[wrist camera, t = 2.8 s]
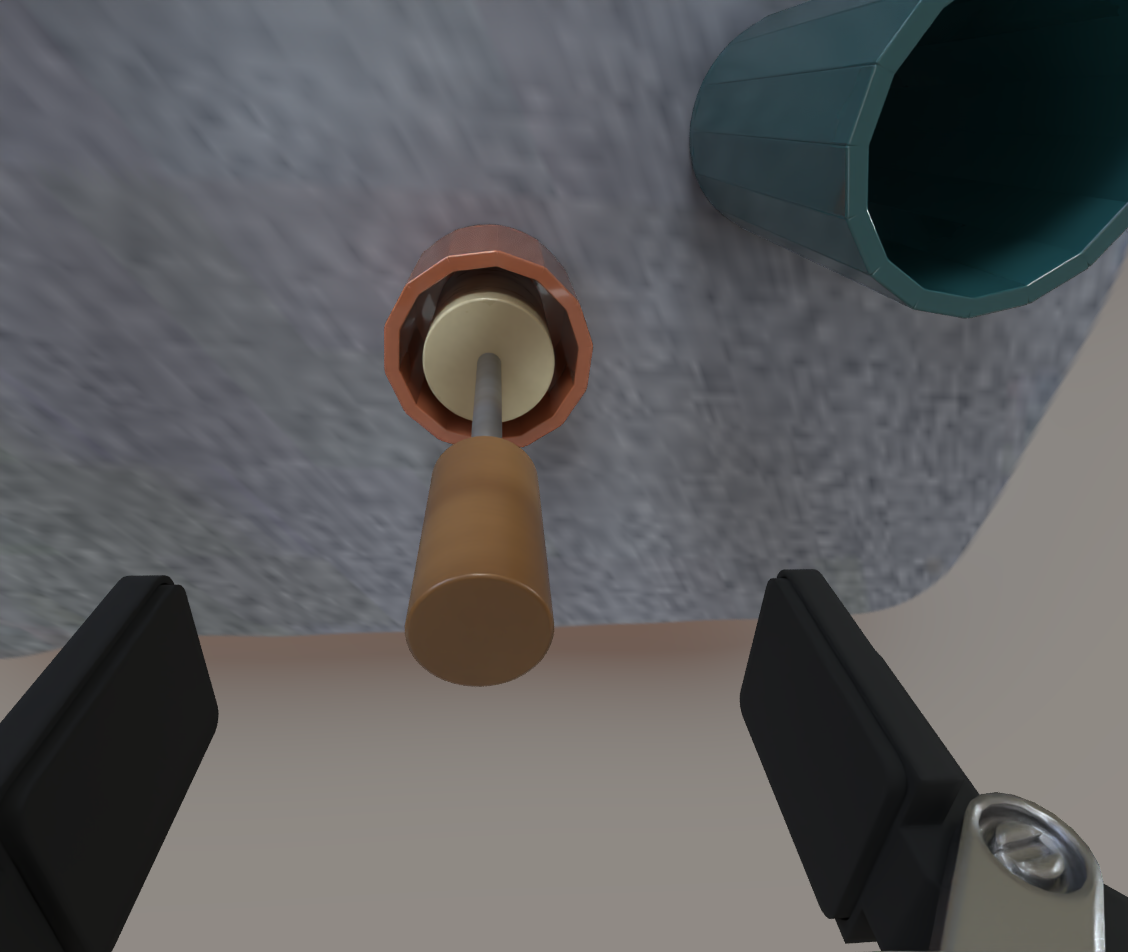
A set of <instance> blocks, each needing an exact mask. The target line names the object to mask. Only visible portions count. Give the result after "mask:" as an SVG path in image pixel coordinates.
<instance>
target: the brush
mask: <svg viewBox="0 0 1128 952" xmlns="http://www.w3.org/2000/svg"><path fill="white" fill-rule="evenodd" d="M554 365H555V360H554V351H553V346H552V341H551V337H550V333H549V329H548V324H547V320H546V316H545V312H544V307H543V303H542V300H541V297H540V295H539V292H538V290H537V289H536V287H535V285H534V284H533V283H532V282H531V280H530V279H529V278H528V277H525V276H522V275H519V274H516V273H513V272H511V271H508V270H505V269H502V268H499V267H488V268H480V269H471V270H463V271H457V272H456V273H455V274H454V275H453V276H451V278H450V279H449V280H448V281H447V282H446V284H445V285H444V287H443V289H442V291H441V293H440V296H439V299H438V302H437V305H436V309H435V312H434V315H433V318H432V321H431V324H430V327H429V331H428V334H427V337H426V340H425V344H424V348H423V370H424V374H425V378H426V380H427V383H428V385H429V387H430V389H431V390H432V392H433V394H434V395H435V396H436V398H437V399H438V400H439V401H440V402H441V403H442V404H443V405H444V406H445V407H446V408H447V409H449V410H450V411H452V412H453V413H455V414H456V415H458V416H460V417H463V418H465V419H468V420H471V421H472V433H471V437H470V438H467V439H464V440H461V441H459V442H457V443H455V444H454V445H452V446H451V447H449V448H448V449H447V450H446V451H445V452H444V453H443V454H442V455H441V456H440V458H439V459H438V460H437V462H436V464H435V466H434V469H433V473H432V478H431V484H430V489H429V495H428V500H427V506H426V511H425V517H424V523H423V528H422V534H421V539H420V545H419V550H418V556H417V561H416V567H415V572H414V578H413V584H412V589H411V595H410V600H409V606H408V611H407V617H406V622H405V637H406V641H407V644H408V647H409V650H410V651H411V653H412V655H413V657H414V658H415V659H416V661H417V662H418V663H419V664H420V665H421V666H422V667H423V668H424V669H426V670H427V671H428V672H429V673H431V674H433V675H435V676H436V677H438V678H440V679H443V680H445V681H448V682H451V683H454V684H459V685H464V686H479V687H481V686H492V685H498V684H502V683H506V682H509V681H511V680H514V679H516V678H518V677H520V676H522V675H524V674H526V673H527V672H528V671H530V670H531V669H532V668H534V667H535V666H536V665H537V664H538V663H539V662H540V661H541V660H542V659H543V657H544V656H545V654H546V653H547V651H548V649H549V647H550V645H551V642H552V639H553V634H554V619H553V610H552V601H551V592H550V583H549V574H548V565H547V556H546V547H545V537H544V528H543V519H542V510H541V501H540V492H539V483H538V476H537V471H536V468H535V466H534V464H533V462H532V460H531V459H530V457H529V456H528V455H527V454H526V453H525V452H524V451H523V450H522V449H521V448H520V447H518V446H517V445H515V444H514V443H512V442H510V441H507V440H505V439H502V422H506V421H509V420H512V419H515V418H517V417H520V416H522V415H523V414H525V413H527V412H528V411H530V410H531V409H532V408H533V407H535V406H536V405H537V404H538V403H539V402H540V400H541V399H542V398H543V396H544V395H545V393H546V392H547V390H548V388H549V386H550V383H551V381H552V377H553V373H554Z"/></svg>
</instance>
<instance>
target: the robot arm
mask: <svg viewBox="0 0 1128 952" xmlns="http://www.w3.org/2000/svg"><path fill="white" fill-rule="evenodd" d="M740 707H741V712H742V715H743V718H744V721H745V723H746V726H747V728H748V731H749V733H750V736H751V737H752V740H753V743H754V745H755V748H756V750H757V753H758V755H759V758H760V760H761V763H762V765H763V767H764V770H765V772H766V775H767V777H768V780H769V783H770V785H771V787H772V790H773V792H774V795H775V797H776V800H777V802H778V805H779V807H780V810H781V812H782V814H783V817H784V820H785V822H786V824H787V827H788V829H789V832H790V834H791V837H792V839H793V842H794V844H795V846H796V849H797V852H798V854H799V856H800V859H801V861H802V864H803V866H804V869H805V871H806V874H807V876H808V879H809V881H810V884H811V886H812V889H813V891H814V894H815V896H816V899H817V901H818V904H819V906H820V908H821V910H822V912H823V913H824V915H825V916H826V917H827V918H829V919H834V918H835V920H836V922H837V925H838V927H839V929H840V932H841V934H842V937H843V939H844V941H845V943H861V942H877V943H878V945H879V947H880V949H881V951H874V952H1128V897H1126V896H1125V895H1123V894H1121V893H1119V892H1118V891H1116V890H1114V889H1112V888H1110V887H1108V886H1107V885H1105V884H1103V879H1102V875H1101V871H1100V866H1099V864H1098V862H1097V860H1096V859H1095V857H1094V855H1093V853H1092V852H1091V850H1090V848H1089V847H1088V846H1087V844H1086V843H1085V842H1084V841H1083V840H1082V839H1081V838H1080V837H1079V835H1078V834H1077V833H1076V832H1075V831H1074V830H1073V829H1072V828H1071V827H1070V826H1068V825H1067V824H1066V823H1065V822H1063V821H1062V820H1061V819H1060V818H1058V817H1057V816H1056V815H1055V814H1053V813H1051V812H1050V811H1048V810H1046V809H1044V808H1043V807H1041V806H1039V805H1038V804H1036V803H1034V802H1031V801H1029V800H1026V799H1023V798H1021V797H1018V796H1015V795H1011V794H1004V793H998V792H994V793H987V794H981V795H979V793H978V792H977V790H976V789H975V788H974V786H973V785H972V783H971V782H970V781H969V779H968V778H967V776H966V775H965V774H964V772H963V771H962V769H961V768H960V766H959V765H958V764H957V762H956V761H955V759H954V758H953V757H952V755H951V754H950V752H949V751H948V750H947V748H946V747H945V745H944V744H943V742H942V741H941V740H940V738H939V737H938V735H937V734H936V733H935V731H934V730H933V728H932V727H931V726H930V724H929V723H928V721H927V720H926V719H925V717H924V716H923V714H922V713H921V711H920V710H919V709H918V707H917V706H916V704H915V703H914V702H913V700H912V699H911V698H910V696H909V695H908V693H907V692H906V690H905V689H904V687H903V686H902V685H901V683H900V682H899V680H898V679H897V678H896V676H895V675H894V674H893V672H892V671H891V669H890V668H889V666H888V665H887V664H886V662H885V661H884V659H883V658H882V657H881V656H880V655H879V654H878V653H877V651H875V649H874V648H873V646H872V645H871V644H870V642H869V641H868V639H867V638H866V637H865V635H864V634H863V632H862V631H861V629H860V628H859V627H858V625H857V624H856V622H855V621H854V620H853V618H852V617H851V615H850V614H849V612H848V611H847V610H846V608H845V607H844V605H843V604H842V603H841V601H840V600H839V598H838V597H837V595H836V594H835V593H834V591H833V590H832V588H831V587H830V586H829V584H828V583H827V581H826V580H825V578H824V577H823V576H822V574H821V573H820V572H819V571H817V570H815V569H800V570H782V571H780V572H779V574H778V576H777V578H772V579H770V580H769V581H768V583H767V586H766V590H765V594H764V598H763V602H762V606H761V610H760V614H759V618H758V623H757V627H756V631H755V635H754V639H753V643H752V647H751V651H750V655H749V659H748V663H747V668H746V671H745V676H744V680H743V684H742V688H741V692H740ZM217 723H218V706H217V702H216V699H215V695H214V692H213V688H212V684H211V681H210V677H209V674H208V670H207V667H206V663H205V660H204V656H203V652H202V649H201V645H200V642H199V638H198V634H197V631H196V627H195V624H194V620H193V617H192V613H191V609H190V606H189V602H188V599H187V595H186V592H185V590H184V588H183V587H182V586H181V585H174V583H173V581H172V579H171V578H170V577H168V576H165V575H160V576H126V577H123V578H122V579H121V580H119V581H118V582H117V584H116V585H115V586H114V587H113V588H112V590H111V591H110V592H109V593H108V594H107V596H106V597H105V598H104V599H103V600H102V602H101V603H100V604H99V605H98V606H97V608H96V609H95V610H94V611H93V612H92V614H91V615H90V616H89V617H88V618H87V620H86V621H85V622H84V623H83V624H82V626H81V627H80V628H79V629H78V630H77V632H76V633H75V634H74V635H73V636H72V638H71V639H70V640H69V641H68V642H67V644H66V645H65V646H64V647H63V648H62V650H61V651H60V652H59V653H58V654H57V656H56V657H55V658H54V659H53V660H52V662H51V663H50V664H49V665H48V666H47V668H46V669H45V670H44V671H43V672H42V674H41V675H40V676H39V677H38V678H37V680H36V681H35V682H34V683H33V684H32V686H31V687H30V688H29V689H28V690H27V692H26V693H25V694H24V695H23V696H22V698H21V699H20V700H19V701H18V702H17V704H16V705H15V706H14V707H13V708H12V710H11V711H10V712H9V713H8V714H7V716H6V717H5V718H4V719H3V720H2V722H1V723H0V952H111V951H112V950H113V948H114V946H115V944H116V942H117V940H118V938H119V935H120V933H121V931H122V929H123V927H124V925H125V923H126V920H127V918H128V916H129V914H130V912H131V910H132V908H133V906H134V904H135V901H136V899H137V897H138V895H139V893H140V891H141V888H142V887H143V884H144V882H145V880H146V878H147V876H148V874H149V872H150V869H151V867H152V865H153V863H154V861H155V859H156V857H157V854H158V852H159V850H160V848H161V846H162V844H163V842H164V840H165V837H166V835H167V833H168V831H169V829H170V827H171V824H172V823H173V820H174V818H175V816H176V814H177V812H178V810H179V807H180V806H181V803H182V801H183V799H184V797H185V795H186V793H187V790H188V789H189V786H190V784H191V782H192V780H193V778H194V776H195V774H196V772H197V769H198V767H199V765H200V763H201V761H202V759H203V757H204V754H205V752H206V750H207V748H208V746H209V744H210V742H211V739H212V737H213V735H214V733H215V731H216V728H217Z"/></svg>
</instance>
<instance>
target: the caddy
mask: <svg viewBox="0 0 1128 952" xmlns="http://www.w3.org/2000/svg"><path fill="white" fill-rule="evenodd" d="M488 267H499V268H502V269H505V270H508V271H511V272H513V273H516V274H519V275H522V276H525V277H528V278H529V279H530V280H531V282H532V283H533V284H534V285H535V287H536V289H537V290H538V292H539V295H540V297H541V300H542V303H543V307H544V312H545V316H546V320H547V324H548V329H549V333H550V337H551V341H552V346H553V351H554V360H555V365H554V373H553V377H552V381H551V383H550V386H549V388H548V390H547V392H546V393H545V395H544V396H543V398H542V399H541V400H540V402H539V403H538V404H537V405H536V406H535V407H533V408H532V409H531V410H530V411H528V412H527V413H525V414H523V415H522V416H520V417H517V418H515V419H512V420H509V421H506V422H502V439H505V440H507V441H510V442H512V443H514V444H515V445H517V446H518V447H525V446H528V445H529V444H531V443H533V442H534V441H536V440H538V439H539V438H541V437H543V436H544V435H546V434H548V433H549V432H551V431H553V430H554V429H556V428H558V427H559V426H561V425H562V424H563V423H564V422H565V420H566V419H567V417H568V416H569V414H570V413H571V412H572V410H573V409H574V407H575V406H576V404H577V403H578V401H579V400H580V399H581V397H582V396H583V394H584V393H585V391H586V389H587V385H588V378H589V372H590V365H591V358H592V352H593V343H592V340H591V337H590V334H589V331H588V327H587V324H586V321H585V318H584V315H583V312H582V309H581V306H580V303H579V301H578V298H577V296H576V294H575V291H574V289H573V287H572V284H571V282H570V280H569V277H568V275H567V273H566V270H565V269H564V267H563V266H562V265H561V264H560V263H559V262H558V261H557V259H556V258H555V257H554V255H553V254H552V253H551V252H550V251H549V250H548V249H547V248H546V247H545V246H544V245H542V244H541V243H540V242H539V241H538V240H537V239H535V238H533V237H531V236H529V235H527V234H526V233H524V232H521V231H519V230H516V229H514V228H510V227H506V226H501V225H492V224H487V225H474V226H468V227H465V228H462V229H457V230H455V231H453V232H452V233H450V234H447V235H446V236H444V237H443V238H441V239H440V240H438V241H437V242H436V243H434V244H433V245H432V246H431V247H430V248H428V249H427V250H425V251H424V252H423V253H422V255H421V257H420V259H419V261H418V262H417V264H416V266H415V268H414V270H413V272H412V274H411V276H410V277H409V279H408V281H407V283H406V285H405V287H404V289H403V291H402V293H401V294H400V296H399V298H398V300H397V302H396V304H395V306H394V308H393V310H392V312H391V314H390V315H389V317H388V319H387V321H386V323H385V327H384V370H385V374H386V376H387V378H388V380H389V382H390V384H391V386H392V388H393V390H394V392H395V394H396V396H397V398H398V400H399V402H400V404H401V406H402V408H403V410H404V411H405V412H406V414H408V415H409V416H410V417H411V418H413V419H414V420H415V421H416V422H418V423H419V424H420V425H421V426H423V427H424V428H425V429H426V430H428V431H429V432H430V433H431V434H432V435H434V436H435V437H436V438H437V439H439V440H441V441H444V442H447V443H451V444H455V443H457V442H459V441H461V440H464V439H467V438H470V437H471V433H472V421H471V420H468V419H465V418H463V417H460V416H458V415H456V414H455V413H453V412H452V411H450V410H449V409H447V408H446V407H445V406H444V405H443V404H442V403H441V402H440V401H439V400H438V399H437V398H436V396H435V395H434V394H433V392H432V390H431V389H430V387H429V385H428V383H427V380H426V378H425V374H424V370H423V348H424V344H425V340H426V337H427V334H428V331H429V327H430V324H431V321H432V318H433V315H434V312H435V309H436V305H437V302H438V299H439V296H440V293H441V291H442V289H443V287H444V285H445V284H446V282H447V281H448V280H449V279H450V278H451V276H453V275H454V274H455V273H456V272H457V271H463V270H471V269H480V268H488Z"/></svg>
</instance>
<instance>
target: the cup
mask: <svg viewBox="0 0 1128 952" xmlns="http://www.w3.org/2000/svg"><path fill="white" fill-rule="evenodd" d="M690 154H691V160H692V166H693V169H694V172H695V176H696V179H697V181H698V183H699V185H700V188H701V190H702V191H703V193H704V194H705V196H706V198H707V199H708V200H709V202H710V203H711V204H712V205H713V206H714V208H715V209H716V210H718V211H719V212H720V213H721V214H722V215H723V216H725V217H726V218H728V219H729V220H731V221H732V222H734V223H735V224H737V225H738V226H739V227H741V228H743V229H745V230H747V231H749V232H751V233H753V234H755V235H758V236H760V237H762V238H764V239H766V240H768V241H770V242H772V243H774V244H777V245H779V246H781V247H783V248H785V249H787V250H789V251H791V252H793V253H796V254H798V255H800V256H802V257H804V258H806V259H808V260H810V261H812V262H815V263H817V264H819V265H821V266H823V267H825V268H827V269H829V270H831V271H833V272H836V273H838V274H840V275H842V276H844V277H846V278H848V279H850V280H852V281H855V282H857V283H859V284H861V285H863V286H865V287H867V288H869V289H871V290H874V291H876V292H878V293H880V294H882V295H884V296H886V297H888V298H890V299H893V300H895V301H897V302H899V303H901V304H903V305H905V306H907V307H909V308H912V309H914V310H919V311H925V312H931V313H936V314H942V315H948V316H953V317H959V318H964V319H965V318H972V317H977V316H981V315H985V314H990V313H994V312H998V311H1002V310H1007V309H1011V308H1015V307H1020V306H1024V305H1027V304H1029V303H1032V302H1033V301H1035V300H1037V299H1038V298H1040V297H1042V296H1043V295H1045V294H1047V293H1048V292H1050V291H1052V290H1053V289H1055V288H1057V287H1058V286H1060V285H1062V284H1063V283H1065V282H1066V281H1068V280H1070V279H1071V278H1073V277H1075V276H1076V275H1078V274H1080V273H1081V272H1083V271H1085V270H1086V269H1088V267H1089V266H1091V265H1092V264H1093V263H1094V262H1095V261H1096V260H1097V259H1098V258H1099V257H1100V256H1101V255H1102V254H1103V253H1104V252H1105V251H1106V250H1107V249H1108V248H1109V247H1110V246H1111V245H1112V243H1113V242H1114V241H1115V240H1116V239H1117V238H1118V237H1119V236H1120V235H1121V234H1122V233H1123V232H1124V231H1125V230H1126V229H1127V228H1128V0H811V1H808V2H805V3H802V4H799V5H797V6H794V7H791V8H788V9H785V10H783V11H780V12H777V13H774V14H771V15H769V16H767V17H764V18H763V19H762V20H760V21H759V22H757V23H755V24H754V25H752V26H751V27H749V28H748V29H746V30H745V31H743V32H742V33H741V34H739V35H738V36H737V37H736V38H735V39H734V40H733V41H731V42H730V43H729V44H728V46H727V47H726V48H725V49H724V50H723V51H722V52H721V53H720V55H719V56H718V57H717V59H716V60H715V62H714V63H713V64H712V66H711V67H710V69H709V71H708V73H707V75H706V76H705V78H704V80H703V82H702V85H701V87H700V89H699V92H698V94H697V98H696V101H695V104H694V108H693V112H692V118H691V123H690Z"/></svg>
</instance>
